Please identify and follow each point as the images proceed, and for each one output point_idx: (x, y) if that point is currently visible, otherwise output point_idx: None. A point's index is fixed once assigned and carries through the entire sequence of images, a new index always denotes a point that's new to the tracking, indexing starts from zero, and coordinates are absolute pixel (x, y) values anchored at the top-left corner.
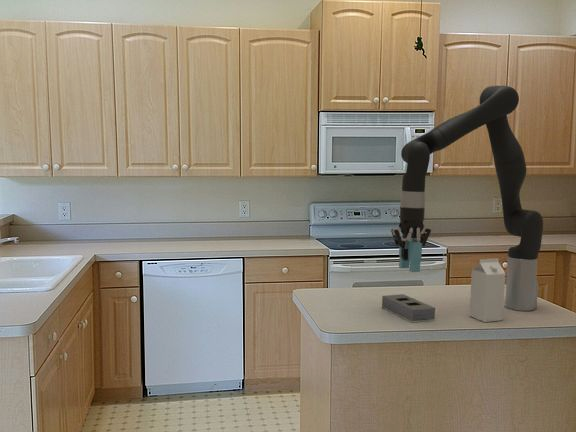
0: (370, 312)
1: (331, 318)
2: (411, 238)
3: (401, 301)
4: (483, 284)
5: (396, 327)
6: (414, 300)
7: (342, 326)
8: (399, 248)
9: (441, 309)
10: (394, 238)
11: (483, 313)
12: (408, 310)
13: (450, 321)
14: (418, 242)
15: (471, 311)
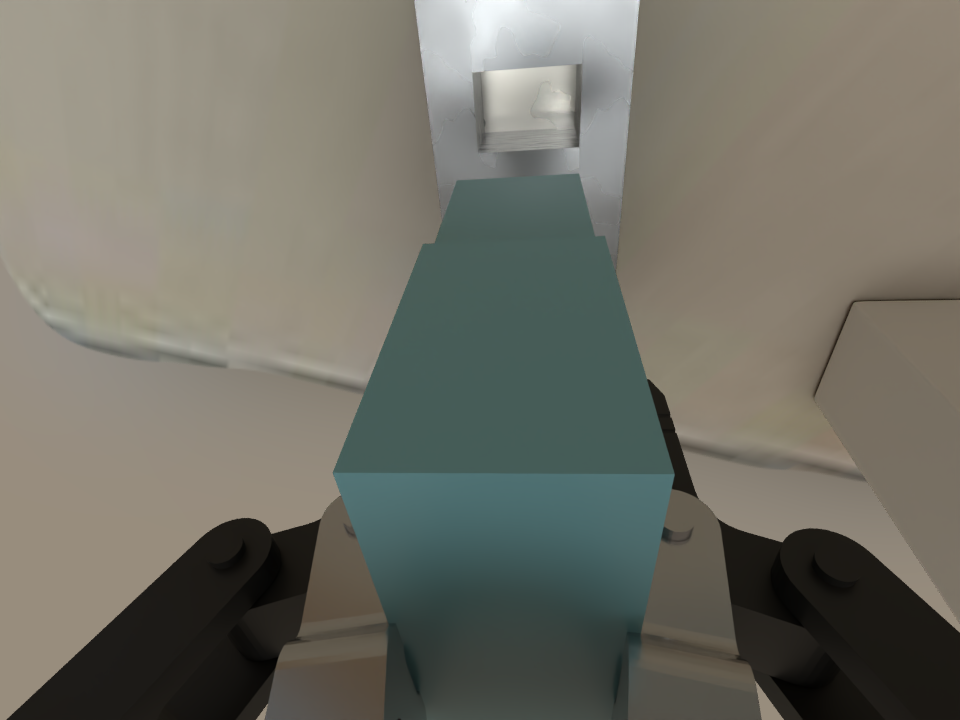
0: (299, 55)
1: (38, 129)
2: (628, 692)
3: (486, 168)
4: (931, 550)
5: (363, 349)
6: (599, 167)
7: (112, 275)
8: (397, 317)
9: (842, 113)
10: (53, 715)
11: (833, 421)
12: None
13: (671, 342)
14: None
15: (861, 333)
